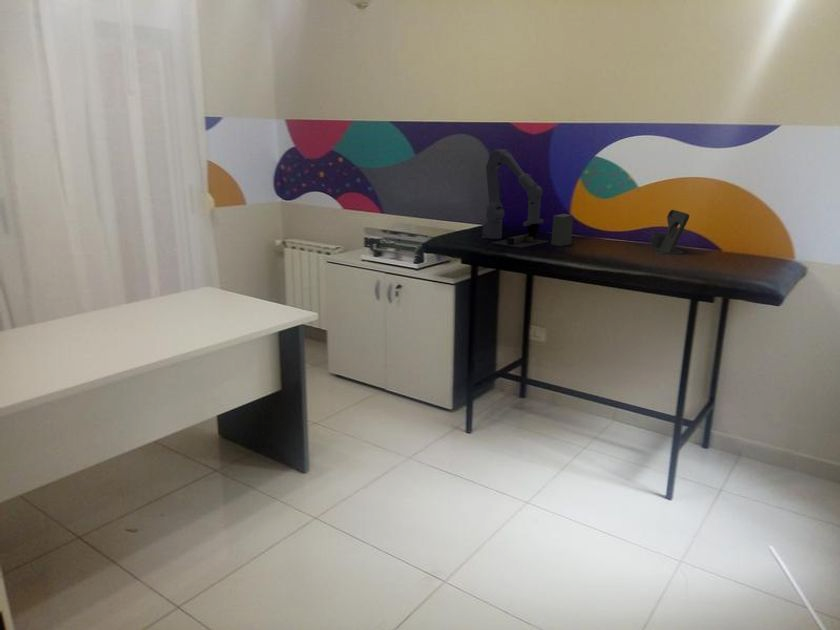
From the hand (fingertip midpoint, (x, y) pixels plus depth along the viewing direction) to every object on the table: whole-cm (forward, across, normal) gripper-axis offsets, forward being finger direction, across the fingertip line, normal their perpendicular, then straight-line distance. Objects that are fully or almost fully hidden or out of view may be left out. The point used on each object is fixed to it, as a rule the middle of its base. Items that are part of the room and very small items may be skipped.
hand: (532, 239), depth 298 cm
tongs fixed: (+1, -7, +3) cm, 8 cm away
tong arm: (+1, -9, +2) cm, 9 cm away
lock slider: (+1, -2, 0) cm, 3 cm away
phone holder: (+2, +29, -54) cm, 62 cm away
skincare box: (+2, +3, -14) cm, 15 cm away
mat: (+2, -6, +3) cm, 7 cm away
